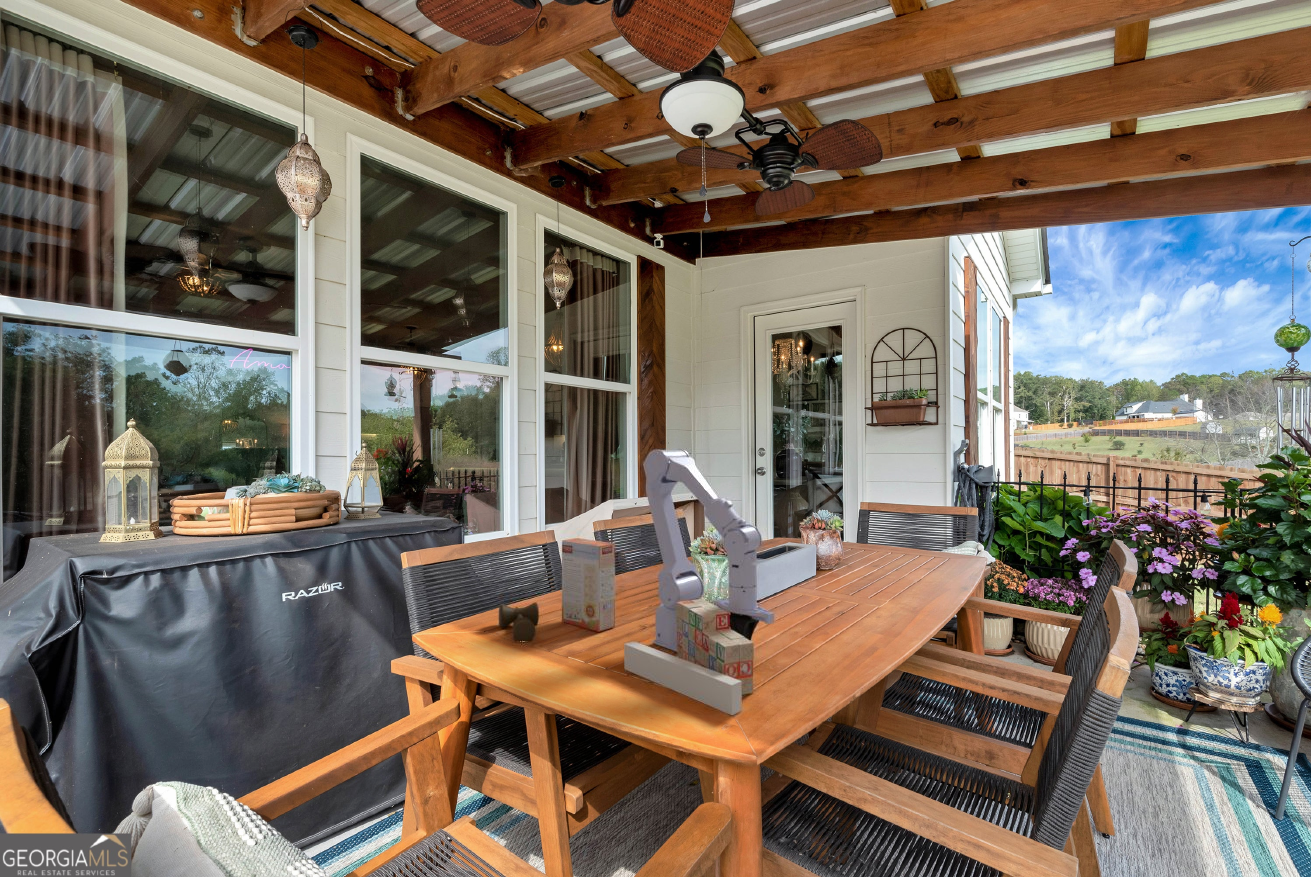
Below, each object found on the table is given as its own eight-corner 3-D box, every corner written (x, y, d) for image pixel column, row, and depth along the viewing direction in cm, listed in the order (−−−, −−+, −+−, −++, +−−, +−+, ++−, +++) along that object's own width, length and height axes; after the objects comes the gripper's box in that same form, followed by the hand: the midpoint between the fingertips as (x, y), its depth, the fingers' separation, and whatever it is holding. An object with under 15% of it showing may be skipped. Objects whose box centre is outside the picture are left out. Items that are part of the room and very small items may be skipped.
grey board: (624, 668, 119) (624, 643, 119) (633, 665, 121) (633, 641, 121) (732, 715, 99) (731, 685, 99) (741, 710, 100) (741, 681, 100)
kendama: (502, 647, 134) (496, 620, 153) (545, 644, 137) (534, 617, 156) (503, 621, 134) (497, 597, 153) (546, 618, 137) (535, 595, 156)
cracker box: (616, 627, 147) (616, 542, 147) (598, 633, 142) (598, 545, 142) (578, 616, 156) (578, 536, 156) (560, 621, 151) (560, 539, 152)
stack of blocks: (754, 694, 108) (754, 625, 108) (723, 699, 105) (723, 629, 106) (703, 655, 128) (702, 597, 128) (676, 659, 125) (676, 600, 125)
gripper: (783, 587, 120) (783, 655, 120) (728, 576, 131) (728, 638, 131) (761, 593, 115) (762, 664, 115) (706, 581, 126) (706, 645, 126)
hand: (742, 650), depth 123 cm, fingers closed
